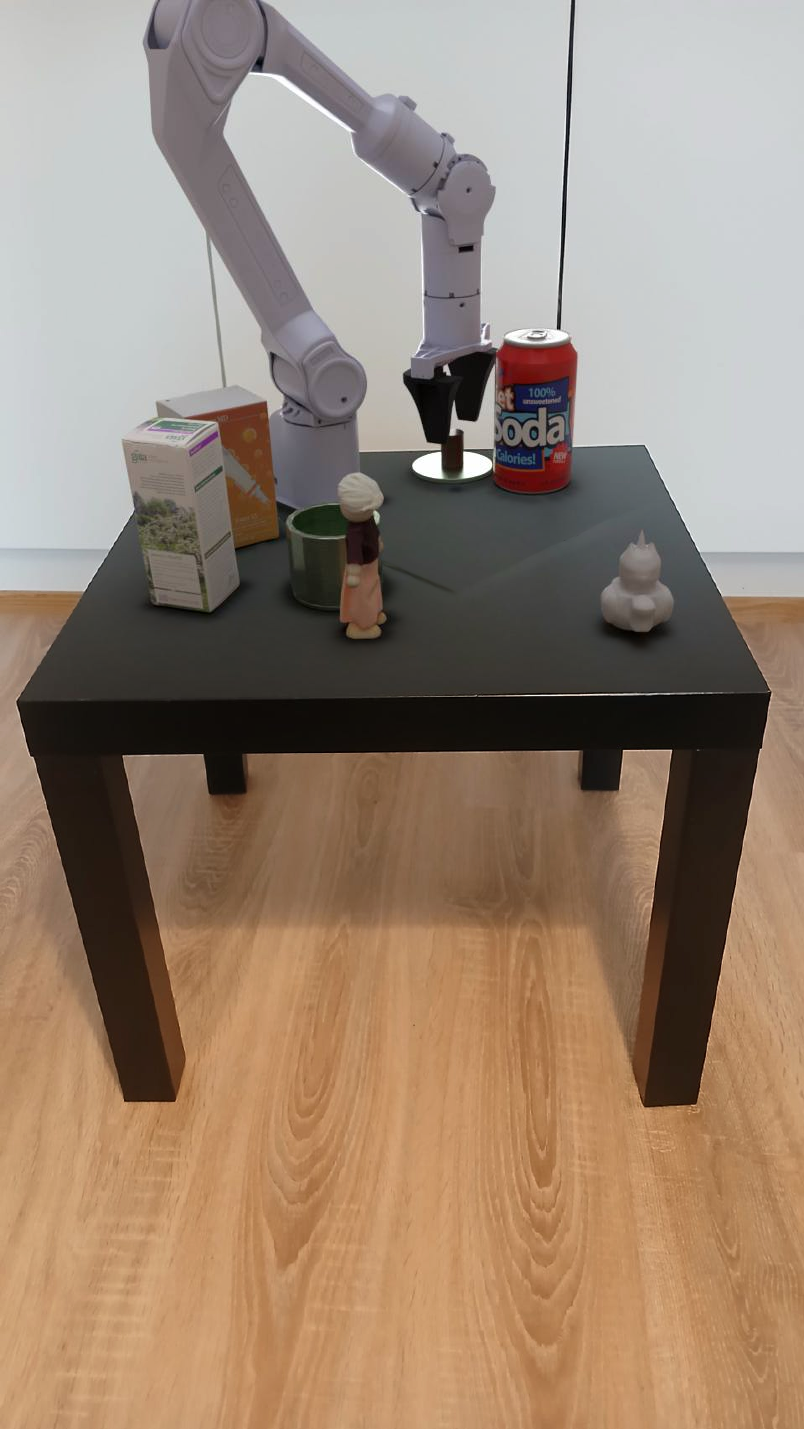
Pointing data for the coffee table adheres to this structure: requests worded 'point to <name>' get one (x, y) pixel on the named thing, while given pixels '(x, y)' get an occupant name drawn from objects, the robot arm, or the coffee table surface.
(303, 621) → the coffee table surface
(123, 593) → the coffee table surface
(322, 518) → the pot
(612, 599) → the horned animal figurine
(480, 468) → the pot lid
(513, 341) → the soda can
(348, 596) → the grandmother figurine
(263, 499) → the small box
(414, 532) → the coffee table surface
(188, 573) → the syrup box
